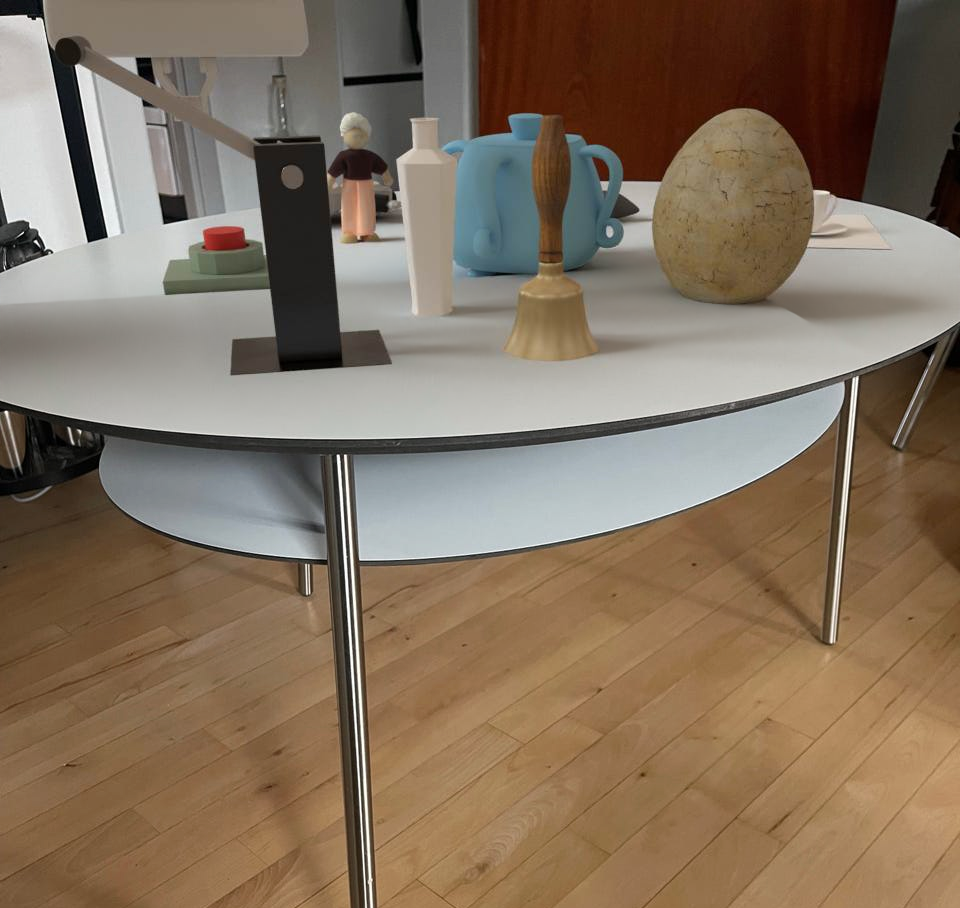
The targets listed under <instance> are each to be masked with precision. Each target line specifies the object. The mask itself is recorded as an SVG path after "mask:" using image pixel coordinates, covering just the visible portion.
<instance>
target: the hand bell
mask: <svg viewBox="0 0 960 908" xmlns="http://www.w3.org/2000/svg"><path fill="white" fill-rule="evenodd" d="M564 127H565V126H564V123H563V116H562V115H561V114H560V115H559V114H546V115H543V116H542V120H541V125H540V130H539V133H538V137H537V140H536V144H535V147H534V152H533V157H532V185H533V193H534V198H535V202H536V205H537V209H538V213H539V221H540V233H539V250H540V252H539V254H538V259H539V260H540V262H539V272H538V274H536V276H535V277H533V278H531V279H530V280H529V281H527V282H525V283H523V284H522V285H521V286H520V287H519V290H518V297H517V305H516V306H517V307H516V314H515V318H514V322H513V326H512V329H511V331H510V334H509V336H508V338H507V339H506V341H505V343H504V344H503V347H502V349H503V350H504V352H505V353H506V354H508V355H510V356H512V357H515V358H517V359H519V358H520V359H522V360H527V361H535V362H566V361H567V362H568V361H574V360H581V359H584V358H587V357H590V356H593V355H595V354H596V353H597V352H598V351H599V348H600V347H599V344H598V343H597V342H596V340H595V339H594V336H593V335H592V332H591V330H590V328H589V327H590V326H589V324H588V319H587V315H586V307H585V301H584V289H583V286H582V285H581V284H580V283H579V282H576V281H575V280H573V279H572V278H570V277H568V276H567V275H566V274H565V271H563V252H562V249H563V240H562V220H563V214H564V210H565V206H566V203H567V199H568V195H569V189H570V182H571V156H570V150H569V146H568V142H567V138H566V135H565V134H566V132H565V128H564Z"/></svg>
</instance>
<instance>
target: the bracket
mask: <svg viewBox="0 0 960 908" xmlns="http://www.w3.org/2000/svg"><path fill="white" fill-rule="evenodd" d="M252 139H253V140H254V141H256V142H258V143H260V144H254V145H253V149H254V157H255V161H254V165H255V172H256V183H257V190H258V191H257V192H258V199H259V208H260V216H261V223H262V231H263V241H264V251H265V255H266V259H267V267H268V275H269V284H270V289H269V292H270V301H271V307H272V317H273V325H274V333H275V336H262V337H261V336H260V337H245V338H244V337H243V338H233V339H232V340H231V356H230V369H229V370H230V371H229V376H243V375H259V374H272V373H286V372H301V371H315V370H329V369H331V370H332V369H343V368H344V369H345V368H357V367H358V368H359V367H374V366H375V367H376V366H388V365H393V362H392V359H391V356H390V353H389V351H388V349H387V346H386V344H385V341H384V338H383V336H382V334H381V331H380V329H370V330H369V329H368V330H367V329H366V330H354V331H341V324H340V312H339V301H338V300H339V299H338V289H337V276H336V265H335V264H336V263H335V255H334V242H333V229H332V220H331V219H332V218H331V215H330V205H329V193H328V181H327V174H328V169H327V159H326V149H325V143H324V141H322V137H321V135H320V134H314V135H288V136H261V137H260V136H258V137H257V136H256V137H255V136H254V137H253V138H252ZM277 141H281V142H283V143H277Z"/></svg>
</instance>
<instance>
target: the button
mask: <svg viewBox="0 0 960 908" xmlns="http://www.w3.org/2000/svg"><path fill="white" fill-rule="evenodd" d="M202 235H203V242H204V243H205V250H212V251H227V250H236V249H242V248H246V240H245V239H246V234H245V228H244V227H241V226H235V225H225V226H223V225H221V226H213V227H207V228H205V229H203V230H202Z"/></svg>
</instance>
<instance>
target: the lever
mask: <svg viewBox="0 0 960 908" xmlns="http://www.w3.org/2000/svg"><path fill="white" fill-rule="evenodd" d="M54 55H55V57H56V58H57V60H58V61H59V62H60V63H61V64H62V65H64V66H67V67H74V66H78V65H80V66H82V67H83V68H85V69H87V70H89V71H91V72H92V73H95V75H98V76H100V77H102V78H103V79H105V80H107V81H109V82H111V83H112V84H114V85H116V86H118V87H120V88H122V89H123V90H125V91H127V92H128V93H131V94H132V95H134V96H136V97H138V98H139V99H141V100H143V101H145V102H147V103H148V104H151V105H153V106H154V107H156V108H158V109H159V110H162V111H163V112H165V113H167V114H169V115H170V116H172V117H173V118H174V117H176V118H178V119H180V120H181V121H180V122H184V123H185V124H187V125H189V126H190V127H193V128H194V129H196V130H198V131H199V132H202V133H203V134H205V135H206V136H209V137H210V138H213V139H214V140H215V141H218V142H219V143H221V144H223V145H225V146H227V147H229V148H230V149H232V150H234V151H236V152H238V153H239V154H242V155H243V156H245V157H247V158H248V159H250V160H252V161H254V162H255V157H254V149H253V145H254V144H260V143H258V142H256V141H254V140H253V138H251V137H249V136H247V135H245V134H244V133H242V132H240V131H238V130H236V129H234V128H233V127H231V126H230V125H228V124H226V123H224V122H222V121H221V120H219V119H217V118H215V117H213V116H211V114H210V115H208V114H206V113H204V112H202V111H201V110H199V109H197V108H195V107H194V106H192V105H190V104H188V103H186V102H185V101H183V100H181V99H179V98H177V97H176V96H174V95H172V94H170V93H168V92H167V91H165V90H164V89H163V88H161V87H159V86H158V85H156V84H154V83H152V82H150V81H149V80H147V79H145V78H144V77H142V76H140V75H138V74H136V73H135V72H133V71H131V70H129V69H127V68H126V67H124V66H122V65H120V64H119V63H116V62H115V61H113V60H111V59H109V58H106V57H104V56H102V55H100V54H99V53H97V52H95V51H93V50H92V47H91V45H90V43H89V42H88V40H87V39H85V38H84V37H82V36H72V37H65V38H61V39H59V40H58V41H57V43H56V45H55V51H54ZM277 143H283V142H281V141H277Z"/></svg>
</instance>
